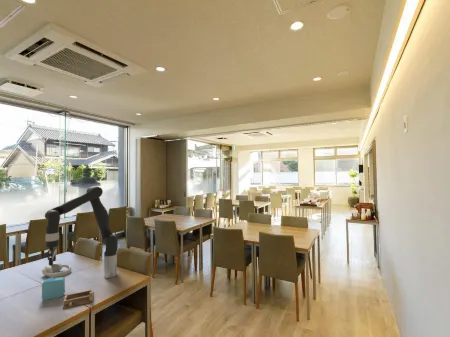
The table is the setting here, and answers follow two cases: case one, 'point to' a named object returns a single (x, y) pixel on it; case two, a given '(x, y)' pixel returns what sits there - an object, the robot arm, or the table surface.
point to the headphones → (55, 270)
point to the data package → (53, 288)
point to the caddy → (78, 299)
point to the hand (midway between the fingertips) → (52, 263)
